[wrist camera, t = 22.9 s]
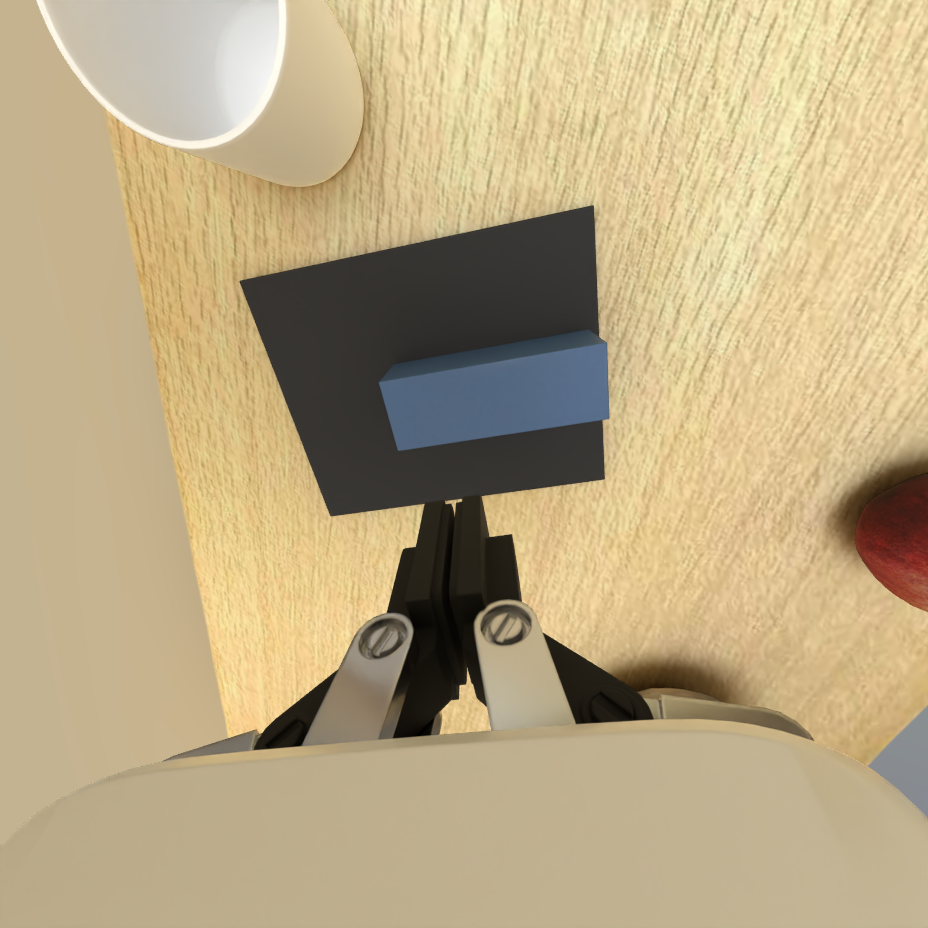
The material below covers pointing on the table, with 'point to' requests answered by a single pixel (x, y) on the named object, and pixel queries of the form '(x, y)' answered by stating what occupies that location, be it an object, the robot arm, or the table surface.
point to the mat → (427, 356)
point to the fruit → (898, 540)
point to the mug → (222, 79)
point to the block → (498, 390)
